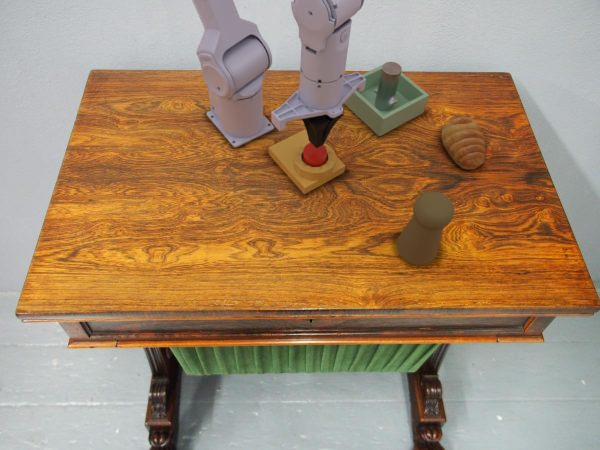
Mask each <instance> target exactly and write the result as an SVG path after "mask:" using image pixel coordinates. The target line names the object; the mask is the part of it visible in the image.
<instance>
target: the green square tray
mask: <svg viewBox="0 0 600 450" xmlns="http://www.w3.org/2000/svg"><path fill="white" fill-rule="evenodd" d="M382 66H383V64H381V65H379V66H378V67H375V68H373V69H371V70H368V71H367V72H364V73H363V74H361V75H362V76H363V77H364V78H365V79H366V83H365V88H364V90H363V91H361V92H358V91H355V92H354V93H353V94H352V95H351V96H350V97H349V98H348V99H347V100H346V101H345V102H344V103H343V105H345V106H346V107H347V108H348V109H349V110H350V111H351V112H352V113H353V114H355V116H356V117H358V119H360V120H361V121H362V122H363V123H364V124H365V125H366V126H367V127H368V128H370V130H371V131H372V132H374V133H375V134H376V135H377V136H378V137H381V136H383V135H385V134H387V133H389V132H390V131H392V130H394V129H396V128H398V127H400V126H402V125H403V124H406V123H407V122H409V121H411V120H412V119H415V118H416V117H418V116H420V115H422V114H424V112H425V109H426V106H427V103H428V101H429V97H430V94H428V92H426V91H425V90H423V89H422V87H420V86H419V85H418V84H416V83H415V82H414V81H413V80H411V79H410V78H409V77H408V76H407V75H405V73H403V72H402V71H401V75H400V79H399V83H398V87H397V91H396V95H395V99H397V100H398V101H397V103H396V104H394V105H393V107H392V108H391V109H390V110H388V111H381V110H379V109H377V108H376V107H375V99H376V93H374V89H376V88H378V85H379V80H380V75H381V71H382Z"/></svg>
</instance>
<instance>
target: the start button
mask: <svg viewBox="0 0 600 450" xmlns="http://www.w3.org/2000/svg"><path fill="white" fill-rule="evenodd" d="M326 157H327V149H326V147H325V146H324V145H322V146H320V147H318V148H316V147H315V146H314V145H313V144H312V143H309V144H307V145H306V146H305V147H304V151H303V160H304V162H305V163H306V164H307V165H309V166H312V167H319V166H321V165H323V164H324V163H325V161H326Z"/></svg>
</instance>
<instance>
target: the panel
mask: <svg viewBox="0 0 600 450" xmlns="http://www.w3.org/2000/svg"><path fill="white" fill-rule="evenodd" d="M309 143H311V142H310V141H309V139H308V134H307V131H306V128H305V129H303V130H301V131H299V132H296V133H295V134H293V135H291V136H288V137H287V138H284V139H283V140H281V141H278V142H276V143H275V144H273V145H271V146H269V147H268V155H269V156H270V157H271V159H272V160H273V161H274V162H275V163H276V164H277V165H278V167H279V168H280V169H281V170H282V171H283V172H284V173H285V174H286V175H287V177H288V178H289V179H290V180H291V182H293V184H294V185H295V186H296V187H297V188H298V189H299V190H300V192H302V193H303V195H306V194H308V193H309V192H312V191H313V190H314V189H316V188H319V187H320V186H322V185H324V184H325V183H327V182H329V181H331V180H333V179H335V178H337V177H338V176H340V175H342V174H344V173H345V170H346V164H345V163H344V162H343V161H342V160H341V159H340V158H339V157H338V156H337V155H336V152H335V150H334V149H333V148H332V147H331V146H330V145H329V144H327V143H326V142H325V143H324V146H325V147H326V149H327V157H326V161H325V163H324V164H323V165H321V166H319V167H312V166H309V165H307V164H306V163H305V162H304V160H303V151H304V147H305V146H306V145H307V144H309Z"/></svg>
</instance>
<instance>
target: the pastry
mask: <svg viewBox="0 0 600 450" xmlns="http://www.w3.org/2000/svg"><path fill="white" fill-rule="evenodd" d="M440 136H441V137H440V138H441V142H442V146H443V147H444V149H445V150H446V152H447V154H448V155H449V156H450V158H451V159H452V161H453V162H454V163H455V165H458V166H459V167H460V168H461V169H463V170H476V169H477V168H478V167H480V166H481V165H482V164H484V162H485V155H486V154H487V153H486V137H485V136H484V133H483V128H482V127H481V126H480V125H479V124H477V123H476V122H475V120H474V119H473V118H472V117H470V116H458V117H456V118H453V119H451V120H449V121H448V122H446V123H445V124H444V125H443V126H442V128H441V135H440Z"/></svg>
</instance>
